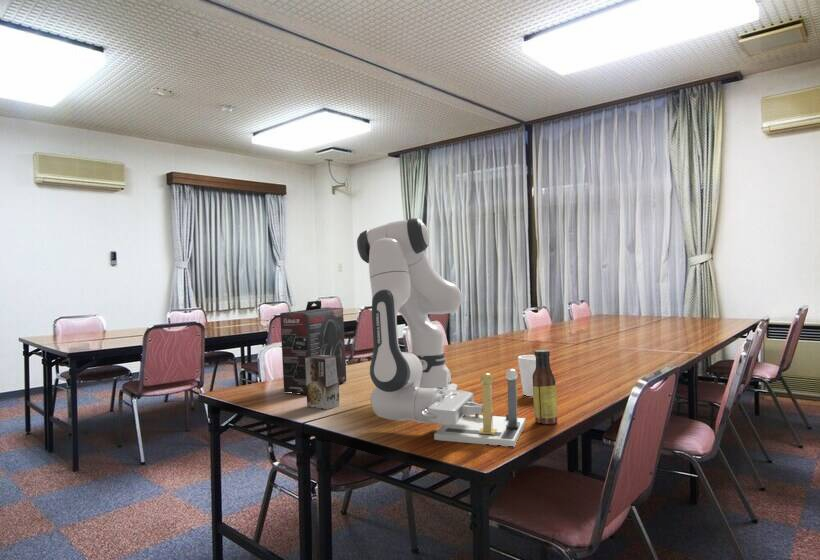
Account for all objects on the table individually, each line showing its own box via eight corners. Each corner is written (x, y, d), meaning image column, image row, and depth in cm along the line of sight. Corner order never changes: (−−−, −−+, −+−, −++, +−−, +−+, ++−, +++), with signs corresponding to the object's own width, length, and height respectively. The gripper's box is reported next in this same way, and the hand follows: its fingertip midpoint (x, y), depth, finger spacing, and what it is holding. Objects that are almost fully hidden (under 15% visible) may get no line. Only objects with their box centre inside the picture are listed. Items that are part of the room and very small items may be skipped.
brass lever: (481, 429, 130) (480, 371, 130) (497, 430, 129) (495, 372, 129) (478, 433, 127) (477, 373, 127) (494, 434, 126) (493, 374, 126)
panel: (455, 418, 148) (454, 409, 148) (525, 423, 141) (525, 413, 141) (434, 439, 129) (434, 429, 129) (514, 447, 122) (514, 435, 122)
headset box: (309, 396, 181) (307, 302, 180) (281, 393, 186) (278, 302, 186) (347, 382, 203) (345, 299, 202) (320, 380, 208) (318, 299, 208)
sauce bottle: (561, 421, 142) (560, 349, 142) (551, 426, 137) (549, 352, 137) (540, 417, 146) (538, 348, 146) (529, 422, 142) (527, 350, 142)
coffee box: (340, 405, 166) (339, 355, 166) (326, 410, 161) (325, 358, 161) (319, 402, 171) (318, 354, 171) (305, 406, 166) (304, 356, 166)
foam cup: (517, 397, 170) (516, 358, 170) (520, 391, 179) (519, 354, 179) (547, 399, 167) (546, 359, 167) (548, 393, 176) (547, 355, 176)
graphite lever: (508, 423, 135) (506, 367, 135) (520, 424, 134) (519, 367, 134) (505, 427, 132) (504, 370, 132) (518, 428, 130) (516, 370, 130)
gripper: (417, 403, 123) (473, 406, 119) (441, 385, 143) (490, 388, 138) (417, 429, 123) (474, 434, 119) (442, 408, 143) (491, 411, 138)
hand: (483, 409), depth 128 cm, fingers closed, pressing on brass lever
